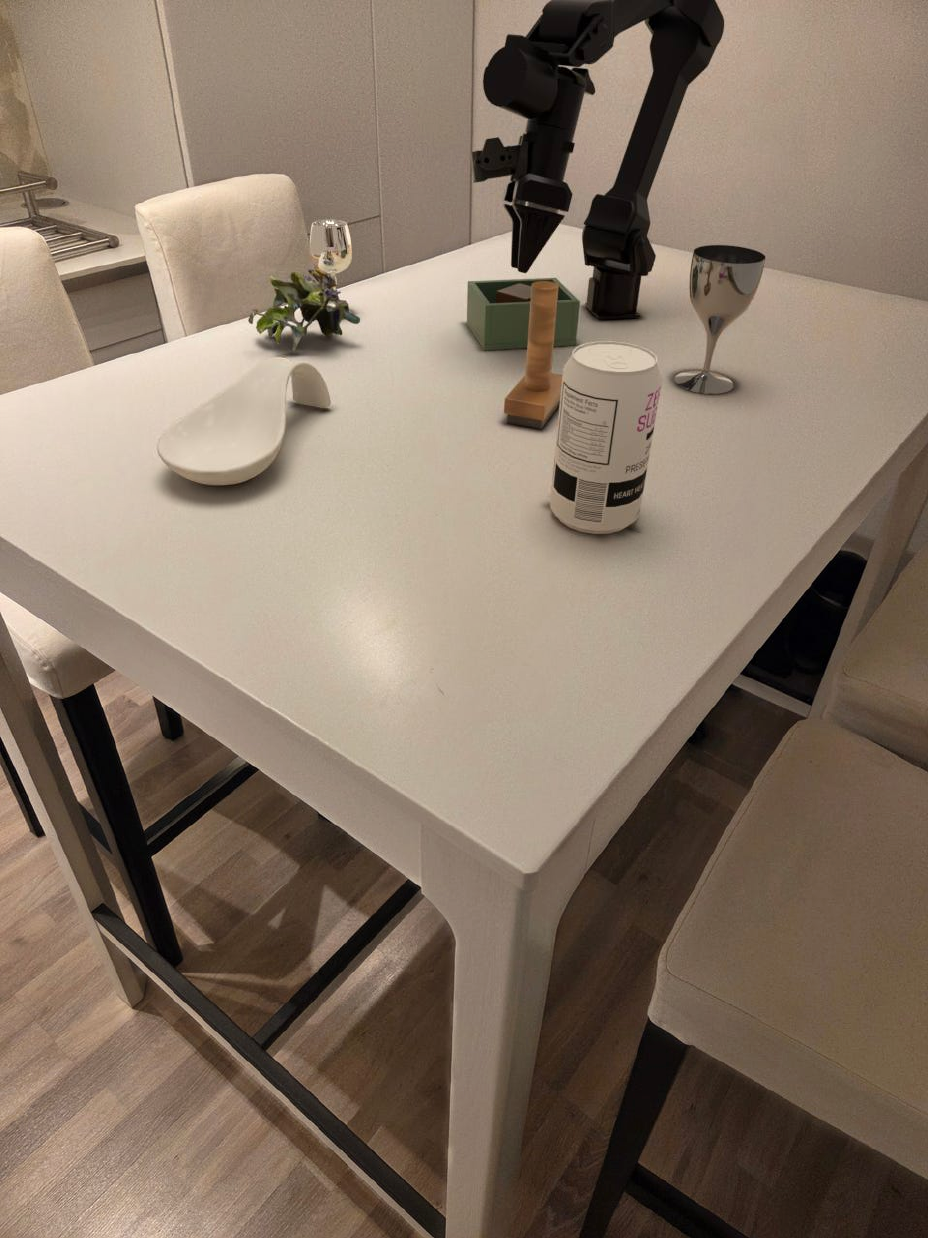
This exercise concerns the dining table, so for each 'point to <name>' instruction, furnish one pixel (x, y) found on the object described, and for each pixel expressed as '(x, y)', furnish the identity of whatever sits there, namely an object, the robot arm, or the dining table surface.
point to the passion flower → (304, 306)
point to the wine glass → (719, 302)
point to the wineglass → (330, 246)
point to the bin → (515, 315)
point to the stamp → (537, 364)
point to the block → (514, 294)
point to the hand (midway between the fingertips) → (518, 269)
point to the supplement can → (604, 435)
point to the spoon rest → (240, 424)
